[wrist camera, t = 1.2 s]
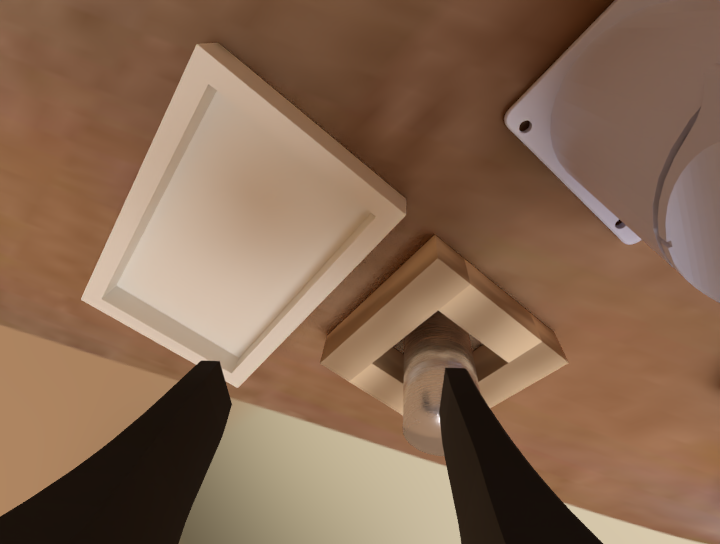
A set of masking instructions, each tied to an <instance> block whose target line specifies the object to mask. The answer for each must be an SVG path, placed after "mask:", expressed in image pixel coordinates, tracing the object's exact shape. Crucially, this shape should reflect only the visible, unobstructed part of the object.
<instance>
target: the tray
mask: <svg viewBox="0 0 720 544" xmlns="http://www.w3.org/2000/svg"><path fill="white" fill-rule="evenodd" d="M405 216H406V198H405V197H403V196H402V195H401V194H400V193H399V192H397V191H396V190H395V189H394V188H392V187H391V186H390V185H389V184H388V183H386V182H385V181H384V180H383V179H382V178H380V177H379V176H378V175H377V174H376V173H374V172H373V171H372V170H371V169H370V168H368V167H367V166H366V165H365V164H364V163H362V162H361V161H360V160H359V159H358V158H356V157H355V156H354V155H353V154H352V153H350V152H349V151H348V150H347V149H346V148H344V147H343V146H342V145H341V144H340V143H338V142H337V141H336V140H335V139H334V138H332V137H331V136H330V135H329V134H328V133H326V132H325V131H324V130H323V129H322V128H320V127H319V126H318V125H317V124H316V123H314V122H313V121H312V120H311V119H310V118H308V117H307V116H306V115H305V114H304V113H302V112H301V111H300V110H299V109H298V108H296V107H295V106H294V105H293V104H292V103H290V102H289V101H288V100H287V99H285V98H284V97H283V96H282V95H281V94H279V93H278V92H277V91H276V90H275V89H273V88H272V87H271V86H270V85H269V84H267V83H266V82H265V81H264V80H263V79H261V78H260V77H259V76H258V75H257V74H255V73H254V72H253V71H252V70H251V69H249V68H248V67H247V66H246V65H245V64H243V63H242V62H241V61H240V60H239V59H237V58H236V57H235V56H234V55H233V54H231V53H230V52H229V51H228V50H227V49H225V48H224V47H223V46H222V45H221V44H219V43H204V44H197V45H196V47H195V49H194V51H193V53H192V56H191V58H190V60H189V62H188V64H187V67H186V69H185V71H184V73H183V75H182V78H181V80H180V82H179V84H178V86H177V89H176V91H175V93H174V95H173V97H172V100H171V102H170V104H169V106H168V108H167V111H166V113H165V115H164V117H163V119H162V122H161V124H160V126H159V128H158V131H157V133H156V135H155V137H154V139H153V142H152V144H151V146H150V148H149V150H148V153H147V155H146V157H145V159H144V161H143V164H142V166H141V168H140V170H139V172H138V175H137V177H136V179H135V181H134V183H133V186H132V188H131V190H130V192H129V194H128V197H127V199H126V201H125V203H124V205H123V208H122V210H121V212H120V214H119V216H118V219H117V221H116V223H115V225H114V227H113V230H112V232H111V234H110V236H109V238H108V241H107V243H106V245H105V247H104V249H103V252H102V254H101V256H100V258H99V261H98V263H97V265H96V267H95V269H94V272H93V274H92V276H91V278H90V280H89V283H88V285H87V287H86V289H85V291H84V294H83V296H82V298H81V300H82V301H84V302H86V303H88V304H89V305H91V306H93V307H95V308H97V309H98V310H100V311H102V312H104V313H105V314H107V315H109V316H111V317H113V318H114V319H116V320H118V321H120V322H121V323H123V324H125V325H127V326H128V327H130V328H132V329H134V330H136V331H137V332H139V333H141V334H143V335H144V336H146V337H148V338H150V339H152V340H153V341H155V342H157V343H159V344H160V345H162V346H164V347H166V348H168V349H169V350H171V351H173V352H175V353H176V354H178V355H180V356H182V357H184V358H185V359H187V360H189V361H191V362H192V363H194V364H196V365H197V364H198V363H199V362H200V361H201V360H202V361H220V364H221V368H222V371H223V375H224V378H225V381H226V382H228V383H230V384H231V385H233V386H235V387H237V388H238V387H239V386H240V385H241V384H242V383H243V382H244V381H245V380H246V379H247V378H248V377H249V376H250V375H251V374H252V373H253V372H254V371H255V370H256V369H257V368H258V367H259V366H260V365H261V364H262V363H263V362H264V361H265V359H266V358H267V357H268V356H269V355H270V354H271V353H272V352H273V351H274V350H275V349H276V348H277V347H278V346H279V345H280V344H281V343H282V342H283V341H284V340H285V339H286V338H287V337H288V336H289V335H290V334H291V333H292V332H293V331H294V330H295V329H296V328H297V327H298V326H299V325H300V324H301V323H302V322H303V321H304V319H305V318H306V317H307V316H308V315H309V314H310V313H311V312H312V311H313V310H314V309H315V308H316V307H317V306H318V305H319V304H320V303H321V302H322V301H323V300H324V299H325V298H326V297H327V296H328V295H329V294H330V293H331V292H332V291H333V290H334V289H335V288H336V287H337V286H338V285H339V284H340V283H341V282H342V280H343V279H344V278H345V277H346V276H347V275H348V274H349V273H350V272H351V271H352V270H353V269H354V268H355V267H356V266H357V265H358V264H359V263H360V262H361V261H362V260H363V259H364V258H365V257H366V256H367V255H368V254H369V253H370V252H371V251H372V250H373V249H374V248H375V247H376V246H377V245H378V244H379V243H380V242H381V240H382V239H383V238H384V237H385V236H386V235H387V234H388V233H389V232H390V231H391V230H392V229H393V228H394V227H395V226H396V225H397V224H398V223H399V222H400V221H401V220H402V219H403V218H404V217H405Z"/></svg>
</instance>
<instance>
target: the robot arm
mask: <svg viewBox="0 0 720 544" xmlns="http://www.w3.org/2000/svg"><path fill="white" fill-rule="evenodd" d="M527 120H528V121H529V122H530V124H529V127H528V129H526V130H525V131H520V130H519V126H520V124H521V123H522V122H523V121H527ZM504 122H505V125H506V126H507V127H508V128H509V129H510V130H511V131H512V132H513V133H514V134H515V135H516V136H517V137H518V138H519V139H520V140H521V141H522V142H523V143H524V144H525V145H526V146H527V147H528V148H529V149H530V150H531V151H532V152H533V153H534V154H535V155H536V156H537V157H538V158H539V159H540V160H541V161H542V162H543V163H544V164H545V165H546V166H547V167H548V168H549V169H550V170H551V171H552V172H553V173H554V174H555V175H556V176H557V177H558V178H559V179H560V180H561V181H562V182H563V183H564V184H565V185H566V186H567V187H568V188H569V189H570V190H571V191H572V192H573V193H574V194H575V195H576V196H577V197H578V198H579V199H580V200H581V201H582V202H583V203H584V204H585V205H586V206H587V207H588V208H589V209H590V210H591V211H592V212H593V213H594V214H595V215H596V216H597V217H598V218H599V219H600V220H601V221H602V222H603V223H604V224H605V225H606V226H607V227H608V228H609V229H610V230H611V231H612V232H613V233H614V234H615V235H616V236H617V237H618V238H619V239H620V240H621V241H622V242H623V243H625V244H629V245H631V244H635V243H637V242H639V241H640V240H643V241H644V242H645V243H646V244H647V245H649V246H650V247H651V248H652V249H653V250H654V251H655V252H656V253H657V254H659V255H660V256H661V257H662V258H663V259H664V260H665V261H666V262H667V263H669V264H670V265H671V266H672V267H673V268H674V269H676V270H677V271H678V272H679V273H680V274H681V275H682V276H683V277H684V278H685V279H686V280H687V281H688V282H689V283H690V284H692V285H693V286H694V287H695V288H697V289H698V290H699V291H701V292H702V293H704V294H705V295H707V296H708V297H710V298H712V299H713V300H715V301H717V302H719V303H720V0H615V1H614V2H613V3H612V4H611V5H610V6H609V7H608V8H607V9H606V10H605V11H604V12H603V13H602V14H601V15H600V16H599V17H598V18H597V19H596V20H595V21H594V22H593V23H592V24H591V25H590V26H589V27H588V28H587V29H586V30H585V32H584V33H583V34H582V35H581V36H580V37H579V38H578V39H577V40H576V41H575V42H574V43H573V44H572V45H571V46H570V47H569V48H568V49H567V50H566V51H565V52H564V53H563V54H562V55H561V56H560V57H559V58H558V59H557V60H556V61H555V62H554V63H553V64H552V65H551V66H550V67H549V68H548V70H547V71H546V72H545V73H544V74H543V75H542V76H541V77H540V78H539V79H538V80H537V81H536V82H535V83H534V84H533V85H532V86H531V87H530V88H529V89H528V90H527V91H526V92H525V93H524V94H523V95H522V96H521V97H520V98H519V99H518V100H517V101H516V102H515V103H514V104H513V105H512V106H511V108H510V109H509V110H508V111H507V112H506V114H505V117H504ZM618 220H621V221H622V223H621V224H619V225H615V224H616V222H617V221H618ZM231 405H232V403H231V400H230V396H229V393H228V389H227V386H226V382H225V378H224V375H223V371H222V368H221V364H220V361H202V360H201V361H200V362H199V363H198V364H197V365H196V366H195V367H194V368H193V369H192V370H190V371H189V372H188V373H187V374H186V375H185V376H184V377H183V378H182V379H181V380H180V381H179V382H178V383H177V384H176V385H174V386H173V387H172V388H171V389H170V390H169V391H168V392H167V393H166V394H165V395H164V396H163V397H162V398H160V399H159V400H158V401H157V402H156V403H155V404H154V405H153V406H152V407H151V408H149V409H148V410H147V411H146V412H145V413H144V414H143V415H142V416H140V417H139V418H138V419H137V420H136V421H134V422H133V423H132V424H131V425H130V426H128V427H127V428H126V429H125V430H124V431H123V432H121V433H120V434H119V435H118V436H117V437H115V438H114V439H113V440H112V441H110V442H109V443H108V444H107V445H106V446H104V447H103V448H102V449H100V450H99V451H98V452H96V453H95V454H94V455H92V456H91V457H90V458H88V459H87V460H85V461H84V462H83V463H81V464H80V465H79V466H77V467H76V468H75V469H73V470H72V471H70V472H69V473H68V474H66V475H64V476H63V477H62V478H60V479H58V480H57V481H56V482H54V483H52V484H51V485H49V486H48V487H46V488H45V489H43V490H42V491H40V492H39V493H37V494H36V495H34V496H33V497H31V498H30V499H28V500H27V501H25V502H23V503H22V504H20V505H19V506H17V507H15V508H14V509H12V510H10V511H9V512H7V513H6V514H4V515H2V516H1V517H0V544H178V543H179V540H180V537H181V534H182V531H183V528H184V525H185V522H186V520H187V517H188V515H189V512H190V510H191V507H192V504H193V502H194V500H195V498H196V496H197V493H198V491H199V489H200V486H201V484H202V482H203V480H204V477H205V475H206V473H207V470H208V468H209V466H210V463H211V461H212V459H213V456H214V454H215V452H216V450H217V447H218V445H219V443H220V440H221V438H222V435H223V432H224V429H225V426H226V423H227V419H228V416H229V412H230V408H231ZM439 416H440V427H441V437H442V445H443V450H444V455H445V460H446V465H447V470H448V475H449V480H450V485H451V489H452V494H453V499H454V504H455V509H456V513H457V519H458V524H459V530H460V536H461V544H603V543H602V542H601V541H600V540H599V539H598V538H597V537H596V536H595V535H594V534H593V533H592V532H591V531H590V530H589V529H588V528H587V527H586V526H585V525H584V524H583V523H582V522H581V521H580V520H579V519H578V518H577V517H576V516H575V515H574V514H573V513H572V512H571V511H570V510H569V509H568V508H567V506H566V505H565V504H564V503H563V502H562V501H561V500H560V499H559V498H558V497H557V495H556V494H555V493H554V492H553V491H552V490H551V489H550V488H549V486H548V485H547V484H546V483H545V482H544V481H543V479H542V478H541V477H540V476H539V475H538V473H537V472H536V471H535V470H534V469H533V467H532V466H531V465H530V464H529V462H528V461H527V460H526V459H525V457H524V456H523V455H522V453H521V452H520V451H519V449H518V448H517V447H516V445H515V444H514V443H513V441H512V440H511V439H510V437H509V436H508V434H507V433H506V432H505V430H504V429H503V427H502V426H501V424H500V423H499V421H498V420H497V418H496V417H495V415H494V414H493V412H492V411H491V409H490V408H489V406H488V405H487V403H486V401H485V400H484V398H483V397H482V395H481V393H480V392H479V390H478V388H477V387H476V385H475V383H474V381H473V379H472V378H471V376H470V374H469V372H468V371H467V370H466V369H465V368H445V373H444V380H443V387H442V394H441V402H440V409H439Z"/></svg>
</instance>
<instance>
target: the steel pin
mask: <svg viewBox="0 0 720 544" xmlns="http://www.w3.org/2000/svg"><path fill="white" fill-rule="evenodd" d="M445 368H465V369H466V370H467V371H468V372H469V374H470V376H471V378H472V379H473V381H474V383H475V385H476V387H477V388H478V390H479V392H480V388H479V383H478V378H477V373H476V368H475V363H474V358H473V353H472V348H471V343H470V338H469V333H468V332H466V331H465V330H464V329H462V328H461V327H460V326H458V325H457V324H456V323H454V322H453V321H452V320H450V319H449V318H448V317H446V316H445V315H444V314H442V313H441V312H440V311H437V312H435V313H434V314H433V315H432V316H430V317H429V318H428V319H427V320H425V321H424V322H423V323H422V324H420V325H419V326H418V327H417V328H415V329H414V330H413V331H412V332H410V333H409V334H408V335H407V336H405V337H404V383H403V434H404V436H405V438H406V440H407V441H408V442H409V443H410V444H411V445H412V446H413V447H415V448H416V449H418V450H420V451H422V452H425V453H428V454H432V455H437V456H445V455H444V450H443V445H442V437H441V427H440V416H439V409H440V402H441V394H442V387H443V380H444V373H445Z"/></svg>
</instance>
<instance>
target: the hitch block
mask: <svg viewBox="0 0 720 544" xmlns="http://www.w3.org/2000/svg"><path fill="white" fill-rule="evenodd" d="M437 311H440V312H441V313H442V314H444V315H445V316H446V317H448V318H449V319H450V320H452V321H453V322H454V323H456V324H457V325H458V326H460V327H461V328H462V329H464V330H465V331H466V332H468V333H469V334H470V335H472V336H473V337H474V338H476V339H477V340H478V341H480V342H481V343H482V344H483V345H482V346H480V347H479V348H477V349H476V350H474V351H473V352H472V353H473V358H474V363H475V368H476V373H477V378H478V383H479V388H480V393H481V395H482V397H483V398H484V400H485V401H486V403H487V405H488V406H489V408H491V407H493V406H495V405H497V404H498V403H500V402H502V401H504V400H505V399H507V398H509V397H510V396H512V395H514V394H516V393H517V392H519V391H521V390H523V389H524V388H526V387H528V386H530V385H531V384H533V383H535V382H536V381H538V380H540V379H542V378H543V377H545V376H547V375H549V374H550V373H552V372H554V371H556V370H557V369H559V368H561V367H563V366H564V365H566V364H568V363H569V362H568V360H567V358H566V356H565V354H564V352H563V350H562V348H561V346H560V344H559V341H558V339H557V337H556V335H555V333H554V332H553V331H552V330H551V329H549V328H548V327H547V326H546V325H544V324H543V323H542V322H541V321H540V320H538V319H537V318H536V317H535V316H533V315H532V314H531V313H530V312H529V311H527V310H526V309H525V308H524V307H522V306H521V305H520V304H519V303H518V302H516V301H515V300H514V299H513V298H511V297H510V296H509V295H508V294H507V293H505V292H504V291H503V290H502V289H501V288H499V287H498V286H497V285H496V284H494V283H493V282H492V281H491V280H490V279H488V278H487V277H486V276H485V275H483V274H482V273H481V272H480V271H479V270H477V269H476V268H475V267H474V266H472V265H471V264H470V263H469V262H468V261H466V260H465V259H464V258H463V257H462V256H460V255H459V254H458V253H457V252H455V251H454V250H453V249H452V248H451V247H449V246H448V245H447V244H446V243H444V242H443V241H442V240H441V239H440V238H438V237H437V236H436V235H434V236H433V237H432V238H431V239H430V240H428V241H427V242H426V243H425V244H424V245H423V246H422V247H421V248H420V249H419V250H418V251H417V252H416V253H415V254H414V255H412V256H411V257H410V258H409V259H408V260H407V261H406V262H405V263H404V264H403V265H402V266H401V267H400V268H399V269H398V270H397V271H395V272H394V273H393V274H392V275H391V276H390V277H389V278H388V279H387V280H386V281H385V282H384V283H383V284H382V285H381V286H380V287H378V288H377V289H376V290H375V291H374V292H373V293H372V294H371V295H370V296H369V297H368V298H367V299H366V300H365V301H364V302H362V303H361V304H360V305H359V306H358V307H357V308H356V309H355V310H354V311H353V312H352V313H351V314H350V315H349V316H348V317H347V318H345V319H344V320H343V321H342V322H341V323H340V324H339V325H338V326H337V327H336V328H335V329H334V330H333V331H332V332H331V333H330V334H328V335H327V338H326V342H325V346H324V350H323V354H322V357H321V361H320V364H321V365H323V366H325V367H326V368H328V369H329V370H331V371H333V372H334V373H336V374H337V375H339V376H341V377H342V378H344V379H345V380H347V381H349V382H350V383H352V384H353V385H355V386H357V387H358V388H360V389H361V390H363V391H365V392H366V393H368V394H369V395H371V396H373V397H374V398H376V399H377V400H379V401H381V402H382V403H384V404H385V405H387V406H389V407H390V408H392V409H393V410H395V411H397V412H398V413H400V414H401V415H403V383H404V355H403V354H402V353H400V352H399V351H398V350H396V349H395V348H393V346H394V345H395V344H397V343H398V342H399V341H400V340H402V339H403V338H404V337H405V336H407V335H408V334H409V333H410V332H412V331H413V330H414V329H415V328H417V327H418V326H419V325H420V324H422V323H423V322H424V321H425V320H427V319H428V318H429V317H430V316H432V315H433V314H434V313H435V312H437Z"/></svg>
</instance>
